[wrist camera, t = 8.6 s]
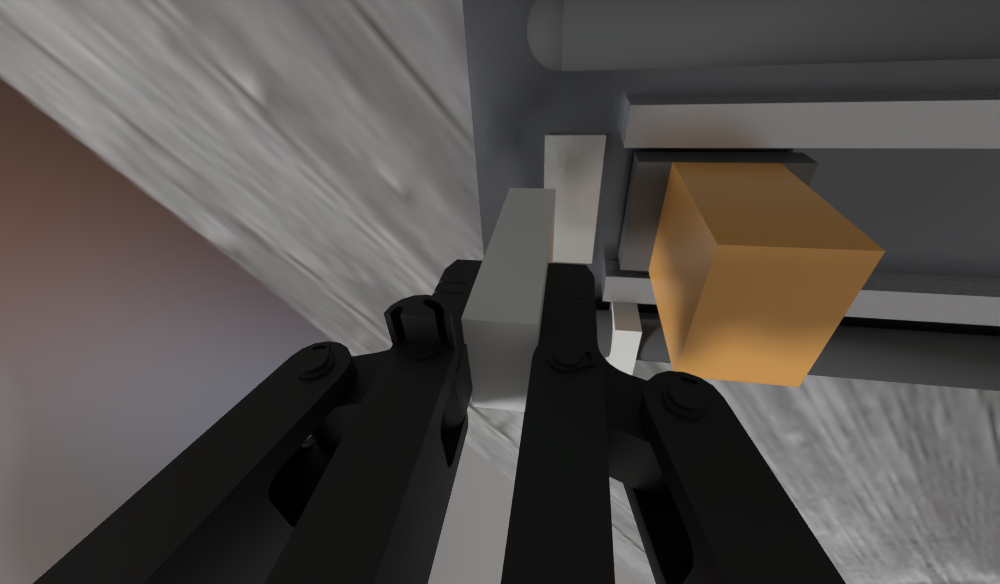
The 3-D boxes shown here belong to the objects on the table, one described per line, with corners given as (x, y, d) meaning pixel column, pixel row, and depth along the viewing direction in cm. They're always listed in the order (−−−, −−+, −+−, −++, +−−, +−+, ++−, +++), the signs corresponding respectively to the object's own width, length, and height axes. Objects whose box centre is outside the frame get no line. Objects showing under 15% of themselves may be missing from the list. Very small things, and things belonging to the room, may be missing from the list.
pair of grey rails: (531, -29, 11) (521, -34, 9) (1688, -110, 7) (2070, -146, 5) (531, 330, 19) (525, 367, 17) (1080, 373, 16) (1149, 424, 14)
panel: (472, -72, 12) (443, -91, 9) (1599, -174, 8) (2057, -250, 6) (498, 322, 21) (487, 365, 19) (1018, 360, 18) (1089, 421, 15)
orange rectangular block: (635, 151, 13) (665, 242, 8) (802, 152, 12) (946, 253, 7) (618, 255, 15) (635, 371, 10) (757, 261, 14) (843, 391, 10)
